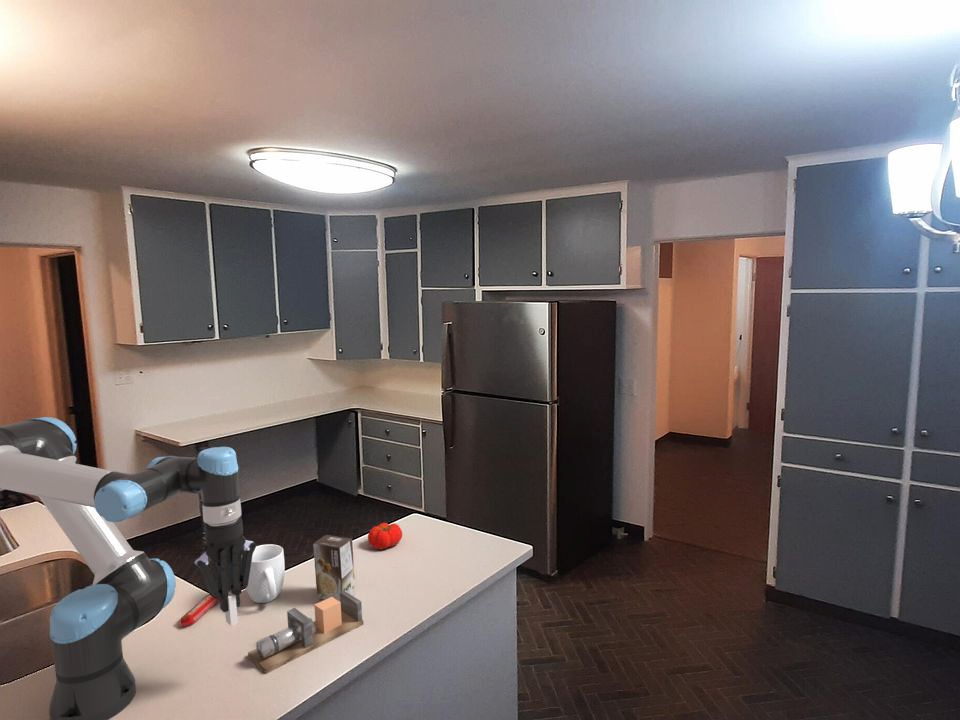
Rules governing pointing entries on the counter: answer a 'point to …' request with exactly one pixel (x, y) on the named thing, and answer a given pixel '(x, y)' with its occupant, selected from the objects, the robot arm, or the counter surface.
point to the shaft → (280, 640)
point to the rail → (309, 642)
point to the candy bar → (198, 610)
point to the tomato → (384, 535)
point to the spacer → (328, 614)
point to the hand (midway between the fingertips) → (231, 622)
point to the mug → (266, 573)
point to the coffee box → (334, 567)
